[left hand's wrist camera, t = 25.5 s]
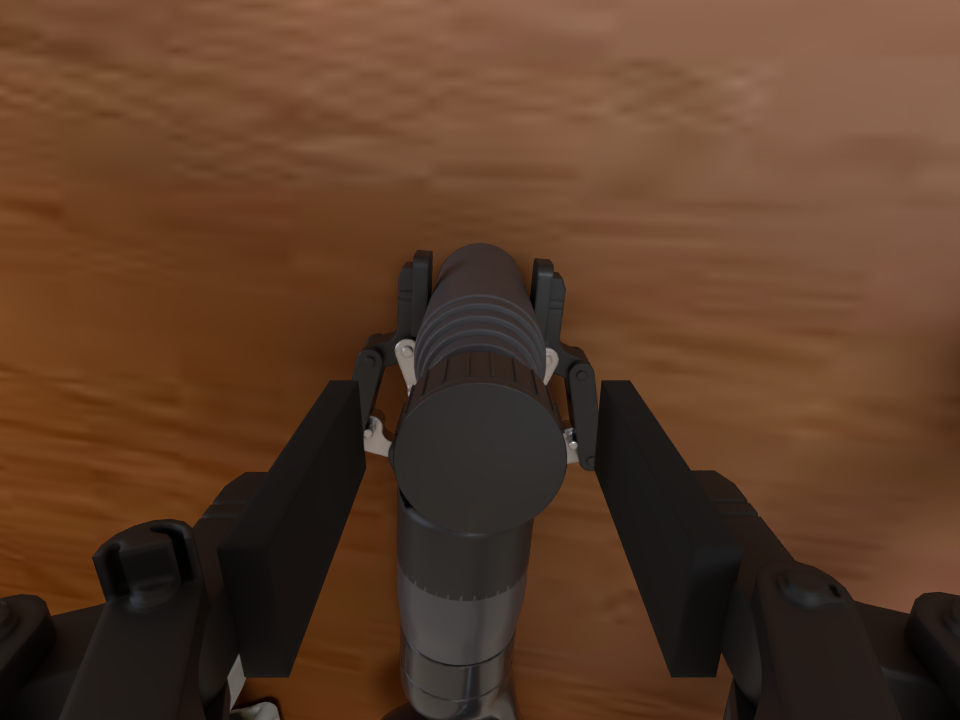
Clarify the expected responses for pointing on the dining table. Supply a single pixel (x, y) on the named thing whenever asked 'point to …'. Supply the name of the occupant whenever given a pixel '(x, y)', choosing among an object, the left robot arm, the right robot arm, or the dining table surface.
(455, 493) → the cap
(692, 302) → the dining table surface
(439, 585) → the right robot arm
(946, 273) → the dining table surface
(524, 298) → the bottle
